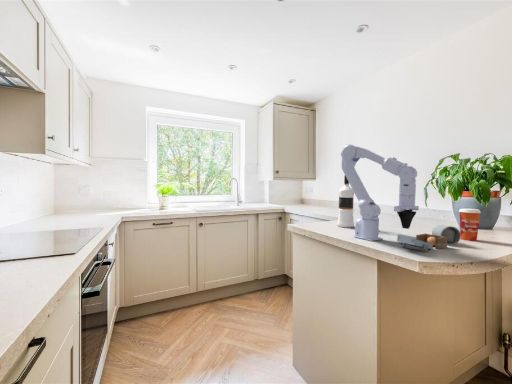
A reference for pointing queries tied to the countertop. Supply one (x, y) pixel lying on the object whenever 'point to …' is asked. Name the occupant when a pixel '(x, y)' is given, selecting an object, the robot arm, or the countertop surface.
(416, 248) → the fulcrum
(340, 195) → the vodka
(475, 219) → the paper cup
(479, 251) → the countertop surface
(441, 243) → the pocket
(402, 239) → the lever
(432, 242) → the ball
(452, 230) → the ceramic mug
